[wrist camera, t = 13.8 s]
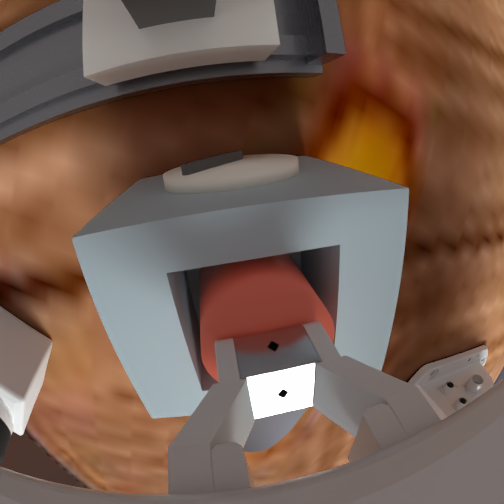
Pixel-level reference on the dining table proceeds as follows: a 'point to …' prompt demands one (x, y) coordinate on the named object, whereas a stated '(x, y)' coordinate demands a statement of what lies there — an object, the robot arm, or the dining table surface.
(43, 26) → the rail
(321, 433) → the dining table surface
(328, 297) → the gauge cabinet
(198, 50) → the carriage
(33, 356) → the medicine bottle
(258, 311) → the button
